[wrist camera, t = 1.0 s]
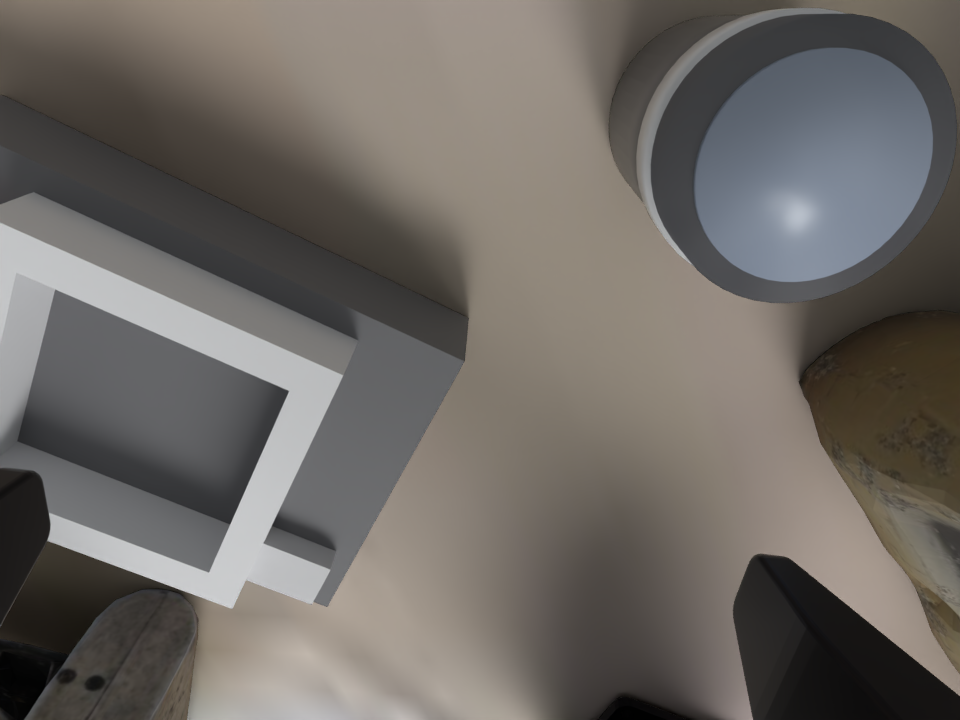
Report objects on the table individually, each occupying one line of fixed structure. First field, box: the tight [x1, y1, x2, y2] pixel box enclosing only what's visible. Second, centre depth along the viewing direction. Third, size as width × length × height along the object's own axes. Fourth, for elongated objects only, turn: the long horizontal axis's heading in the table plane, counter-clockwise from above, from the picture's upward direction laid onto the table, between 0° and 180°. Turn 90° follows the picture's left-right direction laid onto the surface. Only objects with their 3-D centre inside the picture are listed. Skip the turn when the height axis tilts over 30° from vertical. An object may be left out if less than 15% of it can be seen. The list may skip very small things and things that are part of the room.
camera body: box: [0, 95, 469, 609], centre depth 20 cm, size 14×10×5 cm
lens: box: [609, 8, 957, 303], centre depth 15 cm, size 5×5×7 cm
